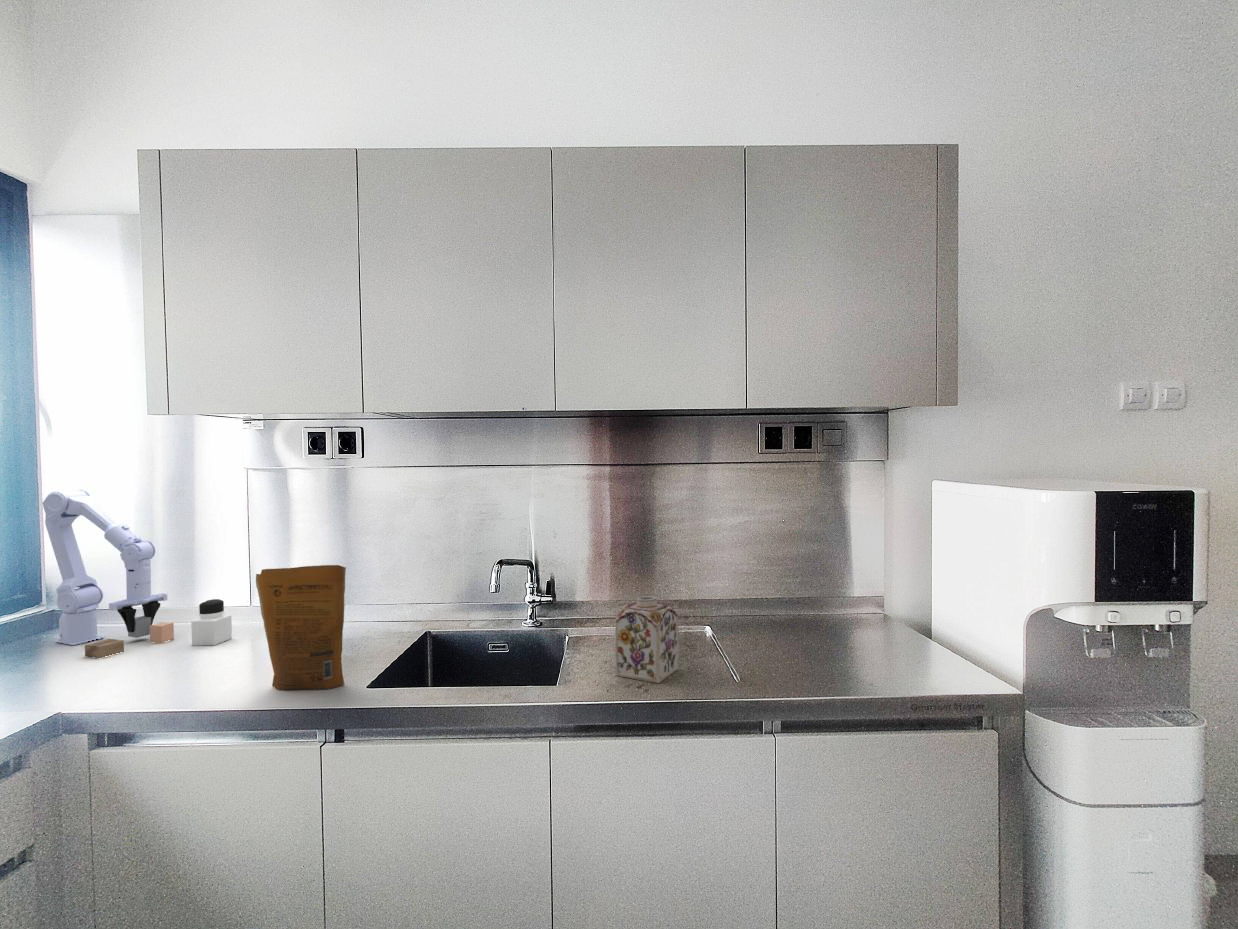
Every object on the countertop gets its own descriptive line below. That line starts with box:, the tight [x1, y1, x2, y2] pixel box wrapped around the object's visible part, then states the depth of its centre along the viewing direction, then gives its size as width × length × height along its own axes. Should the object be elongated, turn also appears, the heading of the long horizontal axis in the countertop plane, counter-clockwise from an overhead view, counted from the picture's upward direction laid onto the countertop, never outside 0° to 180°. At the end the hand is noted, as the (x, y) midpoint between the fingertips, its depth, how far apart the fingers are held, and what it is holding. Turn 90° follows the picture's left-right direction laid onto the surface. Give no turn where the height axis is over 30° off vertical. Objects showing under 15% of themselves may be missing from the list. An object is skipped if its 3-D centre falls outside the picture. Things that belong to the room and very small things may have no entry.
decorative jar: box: [614, 595, 680, 684], centre depth 153 cm, size 12×12×18 cm
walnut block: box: [84, 638, 125, 659], centre depth 174 cm, size 6×6×4 cm
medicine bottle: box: [190, 598, 233, 646], centre depth 185 cm, size 7×7×12 cm
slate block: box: [127, 615, 151, 638], centre depth 188 cm, size 4×4×5 cm
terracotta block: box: [149, 621, 175, 644], centre depth 187 cm, size 4×4×5 cm
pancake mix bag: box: [255, 564, 347, 691], centre depth 146 cm, size 7×19×28 cm, turn 91°
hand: (139, 629), depth 188 cm, fingers closed on slate block, 4 cm apart
